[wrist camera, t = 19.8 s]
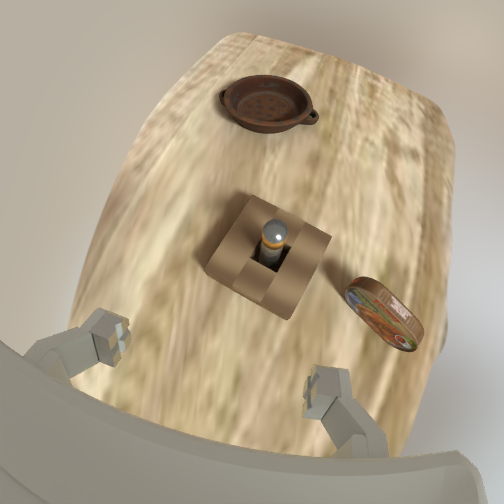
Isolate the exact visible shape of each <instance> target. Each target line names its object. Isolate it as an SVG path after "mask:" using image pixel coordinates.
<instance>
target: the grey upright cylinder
mask: <svg viewBox="0 0 504 504" xmlns="http://www.w3.org/2000/svg"><path fill="white" fill-rule="evenodd" d="M287 237H288V227H287V225H286V224H285V223H284V222H283V221H281V220H279V219H272V220H269V221H268V222H267V223H266V224H265V225H264V227H263V229H262V236H261V240H262V242H261V249H260V256H259V263H260V264H261V265H263V266H265V267H267V268H269V269H273V268H274V267H275V266H276V265H277V263H278V260H279V257H280V255H281V252H282V249H283V246H284V245H285V243H286V240H287Z"/></svg>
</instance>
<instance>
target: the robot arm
mask: <svg viewBox="0 0 504 504" xmlns="http://www.w3.org/2000/svg"><path fill="white" fill-rule="evenodd" d="M128 326H129V319H127V318H126V317H123V316H120V315H118V314H115V313H113V312H110V311H107V310H104V309H102V308H98V309H96V310H95V311H94V313H93V314H92V315H91V316H90V317H89V318H88V319H87V320H86V321H85V323H84V324H83V325H82V326H81V327H80V328H78V327H76V328H73V329H70V330H67V331H64V332H62V333H59V334H56V335H53V336H50V337H47V338H44V339H42V340H39V341H37V342H36V343H35V344H34V345H33V346H32V347H31V348H30V349H29V350H28V352H27V353H26V354H25V355H24V356H21V355H19V354H18V353H17V352H15V351H14V350H12V349H11V348H10V347H8V346H7V345H5V344H4V343H3V342H2V341H0V504H488V500H487V496H486V492H485V487H484V484H483V480H482V477H481V474H480V472H479V471H478V469H477V467H476V466H475V465H474V464H473V463H471V461H470V460H469V459H467V458H466V457H465V456H464V455H463V454H461V453H460V452H459V451H457V450H448V451H443V452H437V453H430V454H422V455H413V456H403V457H389V453H388V446H387V439H386V434H385V433H384V431H383V430H382V429H381V428H380V427H379V426H378V424H377V423H376V422H375V421H374V420H373V419H372V417H371V416H370V415H369V414H368V413H367V412H366V410H365V409H364V408H363V407H362V406H361V404H360V403H359V402H358V401H357V400H356V399H353V397H352V389H351V381H350V374H349V370H348V369H343V368H335V367H328V366H321V365H314V366H313V367H312V369H311V375H310V376H308V377H307V379H306V382H305V385H304V389H303V398H304V399H305V402H304V404H303V410H302V417H303V418H309V419H317V420H321V422H322V424H323V426H324V427H325V429H326V431H327V432H328V434H329V436H330V438H331V439H332V441H333V443H334V444H335V446H336V448H337V449H338V451H337V452H336V453H334V454H333V455H332V456H331V457H330V458H325V457H310V456H299V455H290V454H282V453H274V452H268V451H261V450H256V449H250V448H245V447H240V446H235V445H230V444H226V443H221V442H217V441H213V440H209V439H205V438H201V437H198V436H194V435H191V434H187V433H184V432H181V431H177V430H174V429H171V428H168V427H165V426H162V425H159V424H156V423H153V422H151V421H148V420H145V419H143V418H140V417H137V416H135V415H132V414H130V413H127V412H125V411H122V410H120V409H118V408H115V407H113V406H111V405H109V404H106V403H104V402H102V401H100V400H98V399H96V398H94V397H92V396H90V395H88V394H86V393H84V392H82V391H80V390H78V389H76V388H74V387H73V386H72V384H71V381H70V378H72V377H74V376H75V375H77V374H79V373H81V372H83V371H85V370H86V369H88V368H90V367H92V366H94V365H95V364H97V363H99V362H102V363H104V364H107V365H109V366H112V367H114V368H115V367H116V365H117V364H118V362H119V361H120V359H121V353H122V352H125V351H126V350H127V348H128V347H129V344H130V340H131V333H130V331H129V330H128V328H127V327H128Z"/></svg>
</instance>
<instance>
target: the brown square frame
mask: <svg viewBox="0 0 504 504" xmlns="http://www.w3.org/2000/svg"><path fill="white" fill-rule="evenodd" d="M272 219H279V220H281V221H283V222H284V223H285V224H286V225H287V227H288V237H287V240H286V243H285V245H284V246H283V249H282V252H283V253H285V254H286V255H287V256H286V258H285V260H284V262H283V263H282V265H281V267H280V269H279V270H278V272H277V273H276V272H274V271H272V270H271V269H269V268H267V267H265V266H263V265H261V264H260V263H258V262H256V261H254V260H252V259H253V257H254V256H255V254H256V252H257V251H258V249H259V247H260V246H261V242H262V240H261V236H262V229H263V227H264V225H265V224H266V223H267V222H268V221H269V220H272ZM331 238H332V236H330V235H328V234H327V233H325V232H323V231H321V230H319V229H317V228H316V227H314V226H312V225H310V224H308V223H306V222H304V221H303V220H301V219H299V218H297V217H295V216H293V215H291V214H289V213H287V212H285V211H284V210H282V209H280V208H278V207H276V206H274V205H272V204H270V203H268V202H266V201H264V200H262V199H260V198H258V197H256V196H254V195H252V197H251V198H250V200H249V201H248V203H247V204H246V206H245V207H244V209H243V210H242V212H241V213H240V215H239V216H238V218H237V219H236V221H235V222H234V224H233V225H232V227H231V228H230V230H229V231H228V233H227V234H226V236H225V237H224V239H223V240H222V242H221V243H220V245H219V247H218V248H217V250H216V251H215V253H214V254H213V256H212V257H211V259H210V260H209V262H208V264H207V265H206V267H205V268H204V270H205V271H206V273H207V275H208V276H209V277H211V278H212V279H214V280H216V281H218V282H219V283H221V284H223V285H224V286H226V287H228V288H230V289H231V290H233V291H235V292H236V293H238V294H240V295H242V296H243V297H245V298H247V299H249V300H251V301H252V302H254V303H256V304H258V305H259V306H261V307H263V308H265V309H267V310H268V311H270V312H272V313H274V314H276V315H277V316H279V317H281V318H283V319H285V320H288V319H289V318H290V317H291V316H292V314H293V312H294V310H295V308H296V306H297V305H298V303H299V301H300V299H301V297H302V295H303V293H304V291H305V289H306V288H307V286H308V284H309V282H310V280H311V278H312V276H313V274H314V272H315V270H316V268H317V266H318V264H319V262H320V260H321V258H322V256H323V254H324V252H325V250H326V248H327V246H328V244H329V242H330V240H331Z"/></svg>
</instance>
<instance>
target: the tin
mask: <svg viewBox="0 0 504 504" xmlns="http://www.w3.org/2000/svg"><path fill="white" fill-rule="evenodd" d="M344 295H345V299H346V301H347V303H348V304H349V306H350V307H351V308H352V309H353V311H354V312H355V313H356V314H358V315H359V316H360V317H361V318H362V319H363V320H364V321H365V322H366V323H367V324H368V325H369V326H370V327H371V328H372V329H373V330H374V331H375V332H376V333H377V334H378V335H379V336H380V337H381V338H382V339H383V340H385V341H386V342H387V343H388V344H390V345H391V346H393V347H394V348H396V349H399V350H401V351H405V352H414V351H416V350H417V348H418V345H419V344H420V342H421V340H422V339H423V336H424V329H423V326H422V324H421V323H420V321H419V320H418V319H417V318H416V317H415V316H414V315H413V314H412V313H411V312H410V311H409V310H408V309H407V308H406V307H405V306H404V305H403V304H402V303H401V302H400V301H399V300H398V299H397V298H396V297H395V296H394V295H393V294H392V293H391V292H390V291H389V290H388V289H387V288H386V287H385V286H384V285H383V284H381V283H380V282H378V281H376V280H374V279H372V278H369V277H359V278H356V279H355V280H354V281H353V282H352V283H351V284H350V286H349V287H347V288H346V289H345V292H344Z"/></svg>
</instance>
